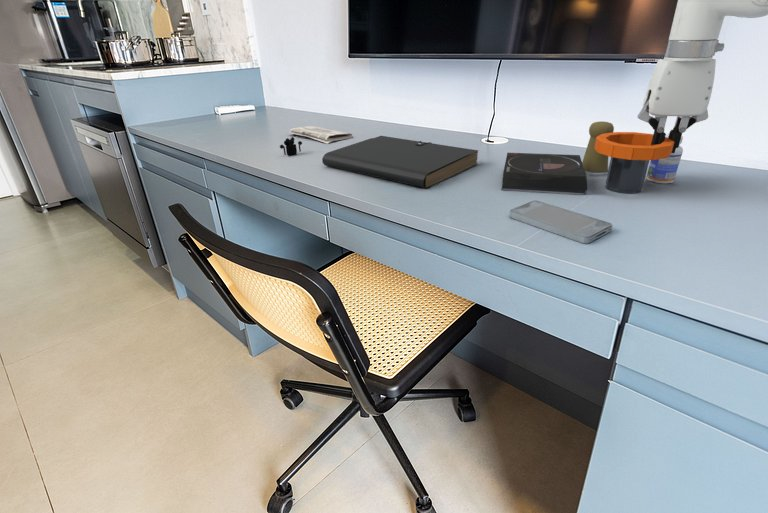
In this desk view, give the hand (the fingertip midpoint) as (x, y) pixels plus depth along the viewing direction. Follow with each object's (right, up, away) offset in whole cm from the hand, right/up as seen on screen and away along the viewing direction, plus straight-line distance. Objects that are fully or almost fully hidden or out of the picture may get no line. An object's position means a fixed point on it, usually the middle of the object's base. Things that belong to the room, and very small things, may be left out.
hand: (663, 150), depth 88 cm
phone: (-25, -16, -10) cm, 31 cm away
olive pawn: (-6, 0, +18) cm, 19 cm away
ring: (-6, 0, +1) cm, 6 cm away
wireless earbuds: (-84, +9, +41) cm, 94 cm away
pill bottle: (+5, -5, +8) cm, 11 cm away
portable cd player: (-20, -4, +11) cm, 24 cm away
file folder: (-53, +2, +26) cm, 59 cm away
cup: (-5, -7, +5) cm, 10 cm away
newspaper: (-79, +20, +62) cm, 102 cm away
